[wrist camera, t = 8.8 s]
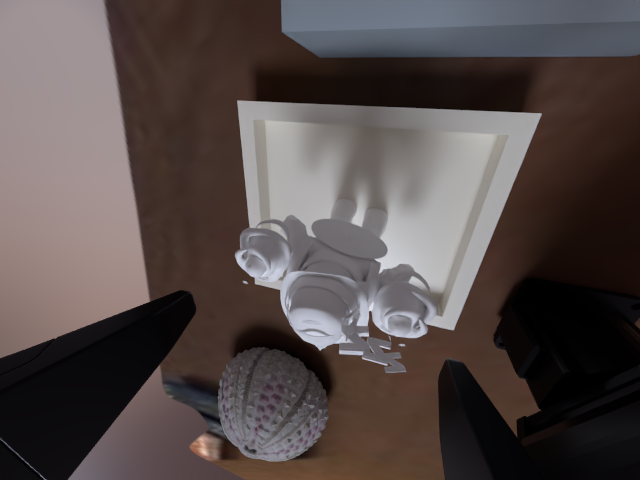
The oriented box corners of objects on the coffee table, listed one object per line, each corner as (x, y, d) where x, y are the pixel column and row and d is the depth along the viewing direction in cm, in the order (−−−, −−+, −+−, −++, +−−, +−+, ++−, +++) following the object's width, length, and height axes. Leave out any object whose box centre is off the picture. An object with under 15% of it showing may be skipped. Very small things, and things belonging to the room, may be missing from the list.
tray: (521, 113, 13) (541, 113, 11) (448, 309, 20) (453, 330, 18) (256, 102, 17) (237, 100, 15) (267, 269, 24) (255, 283, 22)
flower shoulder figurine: (432, 215, 16) (482, 386, 6) (407, 261, 18) (412, 451, 8) (306, 171, 17) (170, 253, 7) (295, 219, 19) (175, 337, 9)
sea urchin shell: (260, 406, 36) (226, 475, 29) (218, 336, 31) (166, 398, 24) (347, 417, 31) (331, 503, 24) (313, 335, 26) (281, 414, 19)
